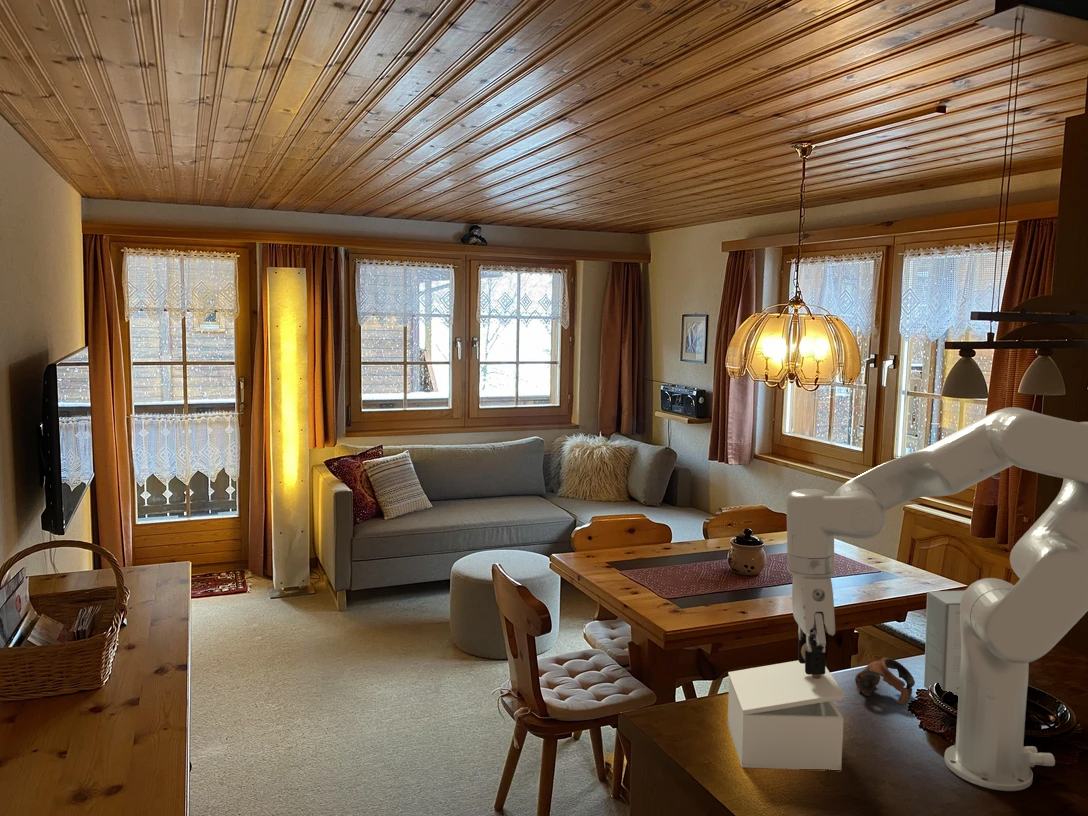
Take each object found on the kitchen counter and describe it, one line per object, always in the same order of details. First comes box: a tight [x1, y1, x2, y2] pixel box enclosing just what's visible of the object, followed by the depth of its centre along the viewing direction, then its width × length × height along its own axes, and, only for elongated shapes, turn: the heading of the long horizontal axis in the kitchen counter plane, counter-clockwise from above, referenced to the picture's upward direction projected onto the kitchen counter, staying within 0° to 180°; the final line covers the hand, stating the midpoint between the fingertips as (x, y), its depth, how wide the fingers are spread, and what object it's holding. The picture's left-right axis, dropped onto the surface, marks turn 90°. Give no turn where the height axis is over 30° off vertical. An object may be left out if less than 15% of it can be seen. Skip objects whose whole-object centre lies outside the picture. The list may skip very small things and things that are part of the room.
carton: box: [727, 677, 844, 771], centre depth 135 cm, size 16×14×9 cm
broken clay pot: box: [854, 657, 916, 706], centre depth 154 cm, size 12×10×8 cm
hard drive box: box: [923, 589, 966, 696], centre depth 155 cm, size 16×8×20 cm, turn 92°
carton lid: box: [727, 641, 846, 715], centre depth 135 cm, size 16×14×7 cm
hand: (811, 667), depth 134 cm, fingers closed on carton lid, 3 cm apart
